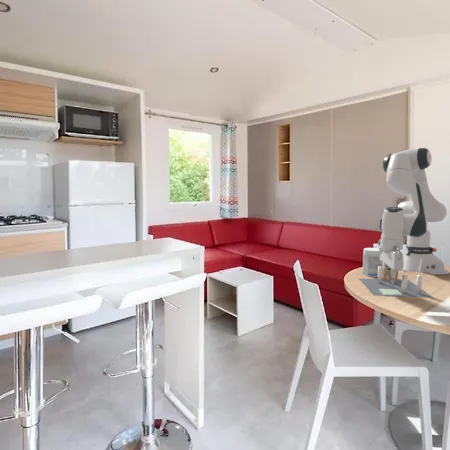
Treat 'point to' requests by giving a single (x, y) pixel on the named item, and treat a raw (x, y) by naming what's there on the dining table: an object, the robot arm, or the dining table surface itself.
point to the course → (395, 286)
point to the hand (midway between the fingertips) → (389, 275)
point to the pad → (390, 292)
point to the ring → (388, 274)
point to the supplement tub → (371, 262)
